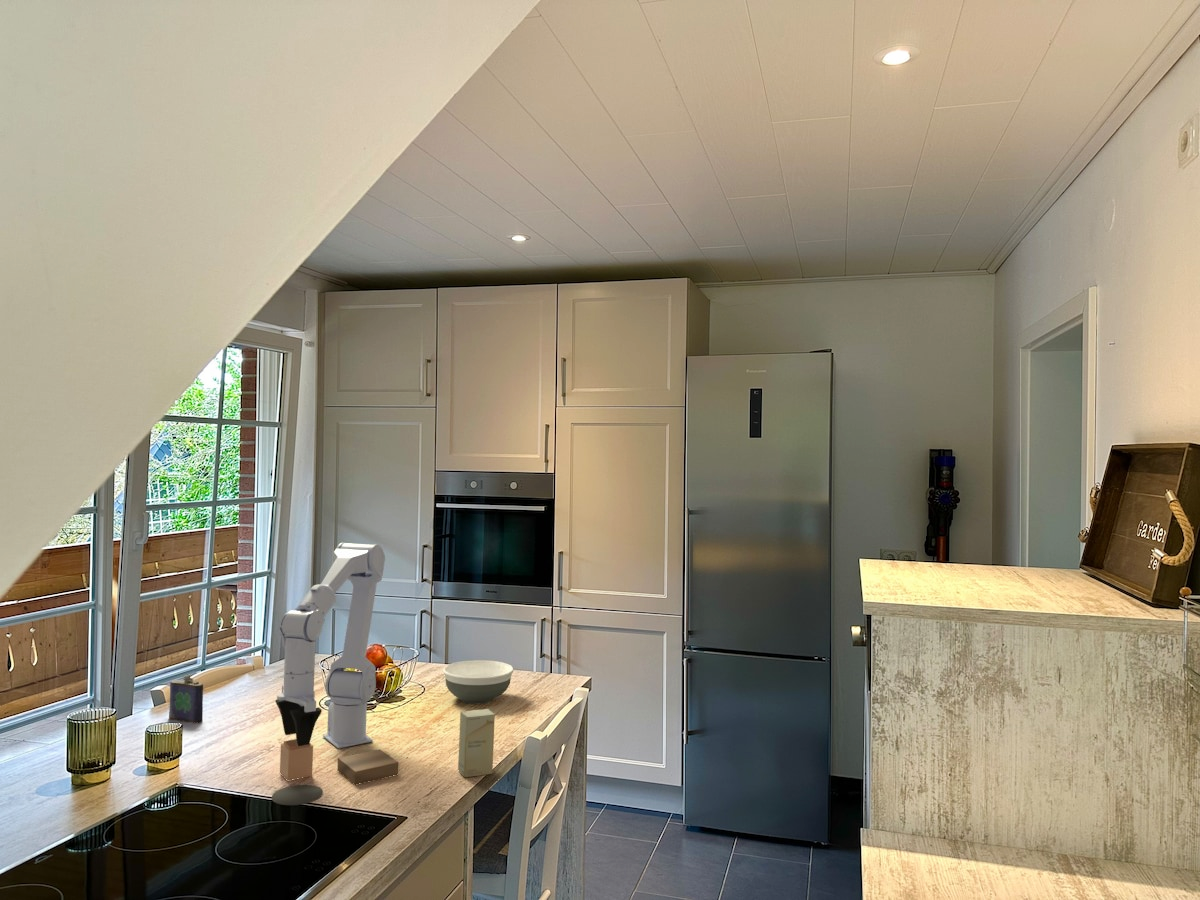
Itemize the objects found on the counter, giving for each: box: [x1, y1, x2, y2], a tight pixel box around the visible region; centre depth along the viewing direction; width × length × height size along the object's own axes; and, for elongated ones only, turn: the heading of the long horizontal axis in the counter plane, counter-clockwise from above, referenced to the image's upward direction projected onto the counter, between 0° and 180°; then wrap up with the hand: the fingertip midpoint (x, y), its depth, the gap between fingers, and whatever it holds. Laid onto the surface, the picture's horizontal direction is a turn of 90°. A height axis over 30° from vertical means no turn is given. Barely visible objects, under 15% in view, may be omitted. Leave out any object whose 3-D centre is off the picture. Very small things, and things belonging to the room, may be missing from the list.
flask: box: [168, 674, 204, 724], centre depth 194 cm, size 9×3×11 cm, turn 71°
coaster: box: [271, 784, 324, 806], centre depth 153 cm, size 9×9×1 cm
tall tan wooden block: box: [279, 738, 314, 781], centre depth 163 cm, size 5×5×6 cm
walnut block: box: [337, 749, 399, 786], centre depth 165 cm, size 9×9×3 cm
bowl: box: [442, 659, 514, 705], centre depth 217 cm, size 19×19×8 cm
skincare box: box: [457, 708, 496, 778], centre depth 167 cm, size 6×4×12 cm
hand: (296, 739), depth 163 cm, fingers open, 7 cm apart
